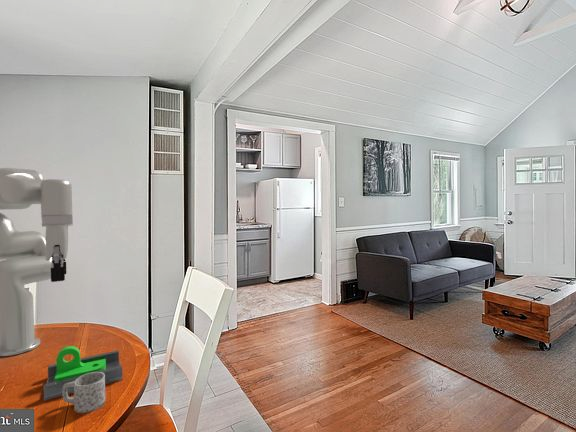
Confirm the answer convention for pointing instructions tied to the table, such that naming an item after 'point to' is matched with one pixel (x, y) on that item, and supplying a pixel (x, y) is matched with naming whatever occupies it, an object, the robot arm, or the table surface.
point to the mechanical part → (75, 365)
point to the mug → (86, 392)
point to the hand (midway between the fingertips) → (59, 277)
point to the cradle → (55, 388)
